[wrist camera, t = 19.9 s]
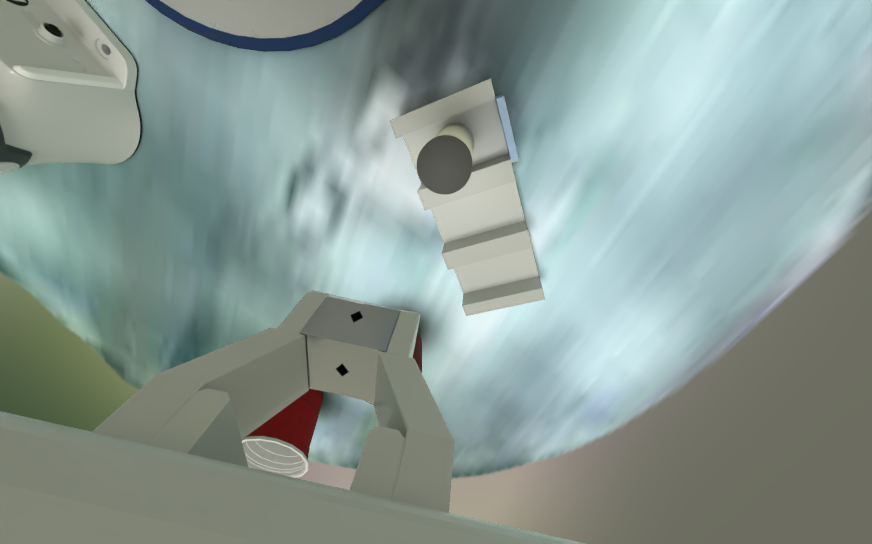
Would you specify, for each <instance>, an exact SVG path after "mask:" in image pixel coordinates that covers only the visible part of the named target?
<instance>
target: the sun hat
mask: <svg viewBox="0 0 872 544" xmlns="http://www.w3.org/2000/svg"><path fill="white" fill-rule="evenodd" d="M146 1H147V2H148V3H149V4H151V5H152V6H153V7H154V8H156V9H157V10H158V11H159V12H161V13H162V14H163V15H165V16H167V17H168V18H170V19H172V20H173V21H175V22H176V23H178V24H180V25H181V26H183V27H185V28H186V29H188V30H190V31H193V32H195V33H197V34H199V35H201V36H204V37H206V38H208V39H210V40H213V41H216V42H220V43H223V44H226V45H230V46H233V47H237V48H243V49H250V50H258V51H291V50H296V49H301V48H306V47H311V46H315V45H317V44H320V43H322V42H325V41H327V40H330V39H332V38H335V37H337V36H339V35H340V34H342V33H343V32H345V31H346V30H348V29H350V28H351V27H353V26H354V25H356V24H357V23H359V22H360V21H361V20H362V19H364V18H365V17H366V16H367V15H368V14H369V13H370V12H371V11H373V10H374V9H375V8H376V7H377V6H378V5H379V4H380V3H382V1H383V0H146Z"/></svg>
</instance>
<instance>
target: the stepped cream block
mask: <svg viewBox="0 0 872 544" xmlns="http://www.w3.org/2000/svg"><path fill="white" fill-rule="evenodd" d="M390 123H391V126H392V128H393V131H394V134H395V136H396V138H398V137H401V136H403V137H404V140H405V142H406V145H407V148H408V150H409V153H410V155H411V158H412V161H413V163H414V166H415V169H416V171H417V158H418V155H419V153H420V151H421V149H422V148H423V147H424V146H425V144H426V143H427V142H429V141H430V140H431V139H433V138H434V137H435V136H436V135H437V134H438V133H439V132H440V131H441V129H442V128H443V127H445V126H446V125H448V124H451V123H460V124H463V125H465V126H466V127H467V128H468V129H469V130H470V131H471V133H472V135H473V138H474V149H473V155H472V172H471V176H470V178H469V180H468V182H467V183H466V185H465V186H464V187H463V188H462V189H460V190H459V191H457V192H455V193H452V194H447V195H443V194H437V193H434V192H432V191H430V190H429V189H428V188H426V187H425V186H424V184H423V183H422V182H421V180H420V182H421V186H420V187H419V189H418V191H417V192H418V194H419V197H420V200H421V202H422V205H423V207H424V210H427V209H430V208H431V210H432V213H433V215H434V218H435V221H436V223H437V226H438V228H439V231H440V234H441V236H442V239H443V241H444V247H443V251H442V255H443V258H444V260H445V263H446V266H447V268H448V269H452V268H454V270H455V273H456V275H457V278H458V281H459V283H460V286H461V288H462V291H463V304H462V306H463V309H464V311H465V314H466V316H468V315H473V314H478V313H482V312H487V311H492V310H497V309H501V308H506V307H511V306H515V305H520V304H525V303H530V302H534V301H539V300H544V299H545V297H544V292H543V288H542V285H541V282H540V278H539V274H538V270H537V266H536V262H535V258H534V254H533V250H532V244H531V240H530V236H529V232H528V228H527V225H526V222H525V218H524V214H523V210H522V206H521V202H520V198H519V194H518V190H517V186H516V179H515V175H514V171H513V167H512V163H513V162H516V161H519V158H518V153H517V149H516V145H515V141H514V136H513V132H512V128H511V124H510V119H509V115H508V111H507V107H506V102H505V98H504V96H503V95H498V96H496V97H495V94H494V90H493V86H492V82H491V78H490V79H488V80H485V81H483V82H481V83H478V84H476V85H473V86H471V87H469V88H466V89H464V90H462V91H459V92H457V93H454V94H452V95H450V96H447V97H445V98H442V99H440V100H438V101H435V102H433V103H431V104H428V105H426V106H423V107H421V108H419V109H416V110H414V111H411V112H409V113H407V114H404V115H402V116H400V117H397V118H395V119H392V120H390ZM511 162H512V163H511ZM417 174H418V173H417ZM419 179H420V178H419Z"/></svg>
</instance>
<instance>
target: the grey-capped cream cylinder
mask: <svg viewBox="0 0 872 544" xmlns="http://www.w3.org/2000/svg"><path fill="white" fill-rule="evenodd" d="M473 149H474V138H473V135H472V133H471V131H470V130H469V129H468V128H467V127H466V126H465V125H463V124H460V123H451V124H448V125H446V126H445V127H443V128H442V129H441V131H440V132H439V133H438V134H437V135H436V136H435V137H434V138H433V139H431V140H430V141H429V142H427V143H426V144H425V146H424V147H423V148H422V149H421V151H420V153H419V155H418V158H417V173H418V176H419V178H420V180H421V182H422V183H423V184H424V186H425V187H426V188H428V189H429V190H430V191H432V192H434V193H437V194H443V195H447V194H452V193H455V192H457V191H459V190H460V189H462V188H463V187H464V186H465V185H466V183H467V182H468V180H469V178H470V176H471V172H472V155H473Z"/></svg>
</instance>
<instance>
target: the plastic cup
mask: <svg viewBox="0 0 872 544" xmlns="http://www.w3.org/2000/svg"><path fill="white" fill-rule="evenodd" d="M322 399H323V394H322V392H321V391H320V390H314V389H309V391H307V392H306V393H304V394H303V395H302V396H300V397H299V398H298V399H296V400H295V401H294V402H292V403H291V404H290V405H288V406H287V407H285V408H284V409H283V410H281V411H280V412H279V413H277V414H276V415H275V416H273V417H272V418H270V419H269V420H268V421H266V422H265V423H264V424H262V425H261V426H260V427H258V428H257V429H255V430H254V431H253V432H251V433H250V434H249V435H247V436H246V437H245V438H243V439H242V440H241V441H242V444H243V448H244V452H245V455H246V459H247V463H248V467H249V468H253V469H258V470H262V471H267V472H271V473H276V474H280V475H284V476H289V477H293V478H297V477H300V476H303V474H305V473H306V472H307V470H308V453H309V447H310V443H311V440H312V436H313V433H314V429H315V426H316V423H317V419H318V414H319V411H320V408H321V405H322Z"/></svg>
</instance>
